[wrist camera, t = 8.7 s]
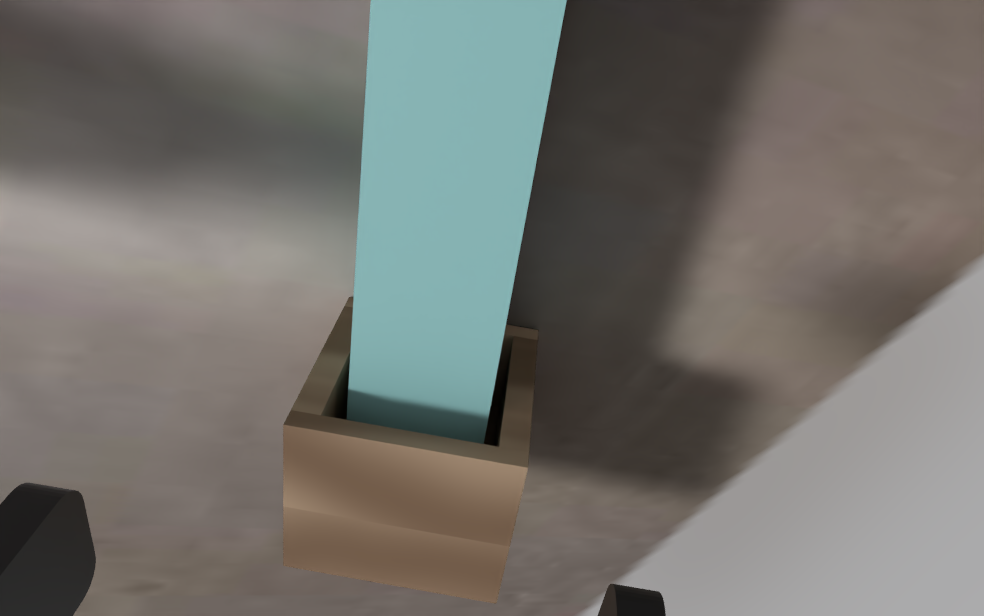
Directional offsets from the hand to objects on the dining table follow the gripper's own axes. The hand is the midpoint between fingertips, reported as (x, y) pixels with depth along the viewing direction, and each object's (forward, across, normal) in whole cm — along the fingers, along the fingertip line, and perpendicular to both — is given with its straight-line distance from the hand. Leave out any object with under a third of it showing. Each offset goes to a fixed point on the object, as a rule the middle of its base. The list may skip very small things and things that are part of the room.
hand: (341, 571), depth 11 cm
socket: (+14, 0, +7) cm, 15 cm away
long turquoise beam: (+13, 0, -3) cm, 13 cm away
